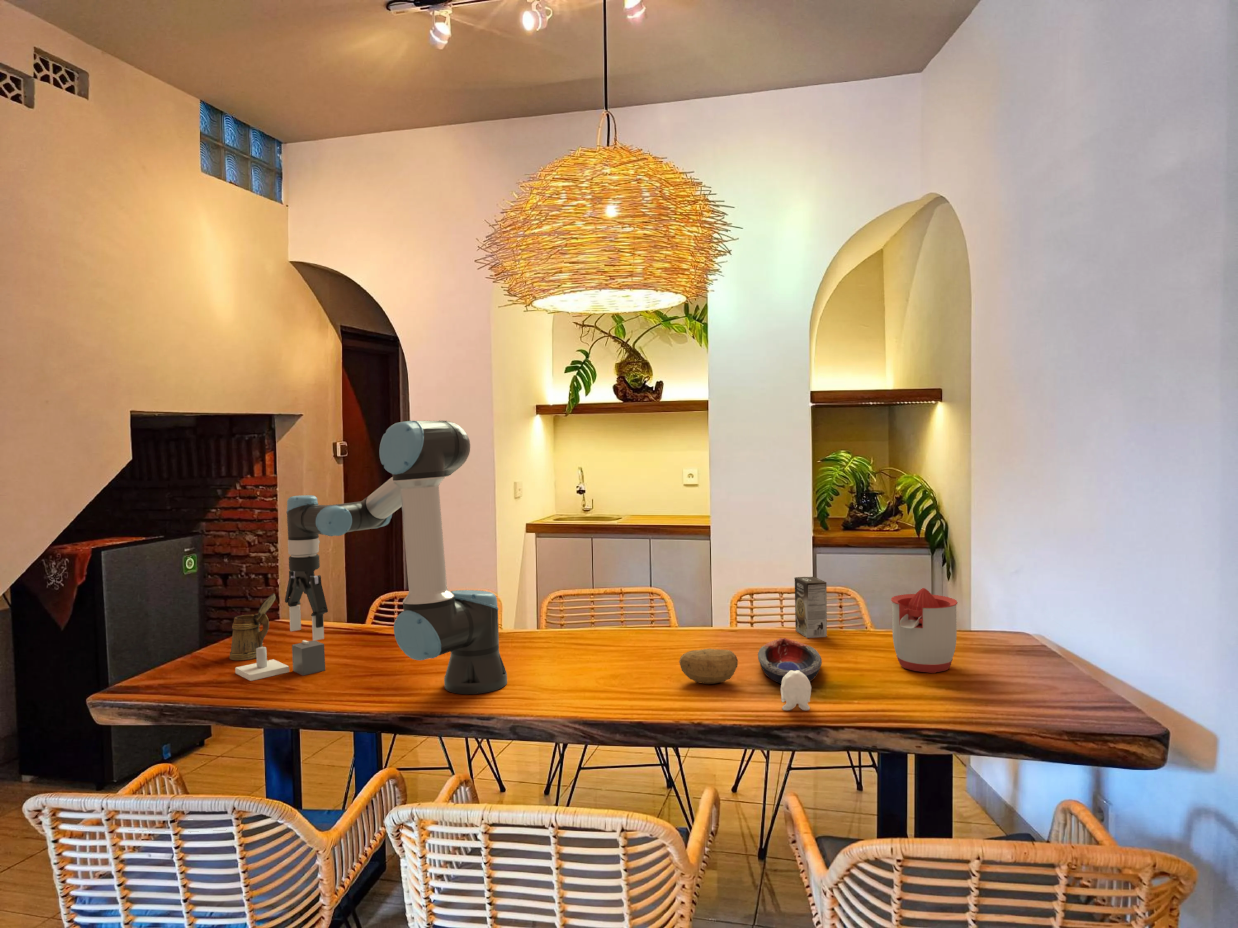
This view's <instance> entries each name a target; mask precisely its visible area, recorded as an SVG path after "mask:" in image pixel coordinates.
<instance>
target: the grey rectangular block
mask: <svg viewBox="0 0 1238 928" xmlns="http://www.w3.org/2000/svg"><path fill="white" fill-rule="evenodd" d="M325 655H326V654H325V644H324V643H322V642H321V641H318V640H315V641H313V640H306V639H303V640H302V641H301V642H300V643H295V644H292V645H291V656H292V671H293V672H294V673H297V674H299V675H301V676H307V675H311V674H316V673H320V672H324V671H326V657H325Z"/></svg>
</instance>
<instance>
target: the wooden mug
mask: <svg viewBox="0 0 1238 928" xmlns="http://www.w3.org/2000/svg"><path fill="white" fill-rule="evenodd" d="M276 597H277V596H276V594H275V592H273V593H272V594H270V595H269V596H268V597H267V598H266V599H264V601H263V602H262V604H261V605H260V606H259V608H258V611H257V612H258V613H255V614H241V615H237V616H235V617H234V618H233V623H232V626H231V629H232V636H231V637H232V639H231V644H230V645H231V648H230V651H229V660H231V661H247V660H249V661H250V660H253V659H256V648H259V647H265V646H263V645H264V642H263V641H264V639H265V637H266V636H267V634H268V631H269V628H270V622H269V620H270V619H269V618H268V616H267V614H266V613H267V612H268V611H269V609H270V608H271V607H272V605H273V604H274V602H275V601H276ZM261 625H262V629H260V627H261Z"/></svg>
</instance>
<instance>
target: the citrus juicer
mask: <svg viewBox="0 0 1238 928" xmlns="http://www.w3.org/2000/svg"><path fill="white" fill-rule="evenodd" d="M890 601H891V603H892V604H891V609H892V610H891V611H892V613H891V614H892V615H891V616H892V617H891V618H892V619H891V620H892V622H891V623H892V626H891V627H892V640H893V647H894V651H895V653H896V659H897V660H898V663H899V666H900V667H902V668H904V669H905V670H906V669H907V670H910V671H914V672H921V673H927V674H936V673H939V672H945V671H948V670H949V669H950V666H951V665H952V662H953V657H954V656H955V655H954V654H955V651H956V645H957V634H958V633H957V605H958V601H957V600H956V598H952V597H949V596H944V595H940V594H932V593H931V592H930V591H929V590H928V589H927V588H926V587H923V588H922V587H921V588H920V590H918V591H917V592H916V593H906V594H905V593H903V594H898V595H895V596H892V597H891V599H890Z"/></svg>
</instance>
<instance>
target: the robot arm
mask: <svg viewBox="0 0 1238 928" xmlns="http://www.w3.org/2000/svg"><path fill="white" fill-rule="evenodd" d="M378 453H379V459H380V463H381V465H382V466H383V469H385V471H387V473H390V474H391V475H392V477H390V478H389V479H387V480H386V481H385V482H384V483H383V484H382V485H380V486H379V487H378V488H376V489H375V490H374V491H373V492H372V493H371V494H369V495H368V496H367V497H365V498H364V499H363V500H361V501H354V502H345V503H336V504H319V503H318V497H316V496H315V495H310V494H309V495H307V494H306V495H304V494H303V495H294V496H289V497H288V498H287V502H286V503H287V504H286V505H287V506H286V523H287V550H288V551H287V552H288V553H287V554H288V555H289V557H288V569H289V571H288V582H287V588H286V590H285V591H286V592H285V593H286V594H285V597H284V603H285V604H287V606H288V608H289V610H288V613H289V631H290V632H296V631H300V630H302V617H301V616H302V614H301V599H302V596H303V594H305V595H306V597H307V600H308V602H309V605H310V609H311V610H312V613H311V614H310V616H311V630H312V633H311V634H312V641H319V640H324V639H325V627H324V625H325V624H324V623H325V622H324V614H328V612H329V609H328V605H327V602H326V596H325V592H324V590H323V585H322V577H321V575H320V574H319V575H315V571H316V570H318V569H320V566H321V565H320V563H321V562H320V555H319V554H318V553H319V552H320V547H319V545H320V544H321V541H320V539H319V538H320V537H319V535H323V536H327V537H339V536H343V535H345V534H346V533H351V532H356V531H358V532H359V531H365V530H370V529H371V530H373V529H379V528H382V527H385V526H386V527H387V526H388V525H389V524H390V522H391V519H392V517H393V514H394V513H395V512H396V511H398V510H399V509H400V508H401V511H402V513H401V514H402V521H403V522H402V524H403V537H404V547H405V549H404V550H405V560H406V572H407V574H406V575H407V583H408V584H407V585H408V586H407V587H408V593H407V595H406V597H404V598H403V600H402V606H403V610H402V611H401V612H400V613H399V614H398V615H397V616H396V618H395V620H394V623H393V633H394V638H395V641H396V644H397V645H398V647H399V648H400V650H401V651H403V653H404V654H405V656H407V657H409V658H410V659H412V660H414V661H415V660H416V661H425V660H428V659H434V658H437V657H438V656H441V655H445V654H447V653H450V657H449V661H448V663H447V668H446V671H445V675H444V677H443V678H444V681H443V683H444V689H445V690H446V691H447V692H449V693H454V694H459V695H479V694H486V693H491V692H494V691H497V690H499V689H502V688H504V687H506V685H507V684H508V673H507V670H506V667H505V665H504V662H503V660H502V657H501V654H500V641H499V639H500V637H499V607H498V598H497V596H496V594H495V593H493V592H490V591H486V590H485V591H484V590H474V589H463V590H461V589H460V590H458V589H457V590H452V591H450V590H449V588H448V585H447V571H446V560H445V559H446V558H445V545H444V535H443V522H442V511H441V496H440V484H441V483H442V482H443V481H444V479H445V478H447V477H449V476H451V475H452V474H454V473H455V472H456V471H458V470H459V469H461V467H462V466H463V465H464V464H465V463H466V461H467V460H468V459H469V456H470V453H471V442H470V438H469V435H468V434H467V432H466V431H465V429H464V428H463V427H462V426H460V425H459V424H457V423H456V422H453V421H450V420H407V421H400V422H395V423H394V424H392V425H390V426H389V427H388V428H387V429H386V430H385V433H383V435H382V437H381V440H380V444H379V452H378Z"/></svg>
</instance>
